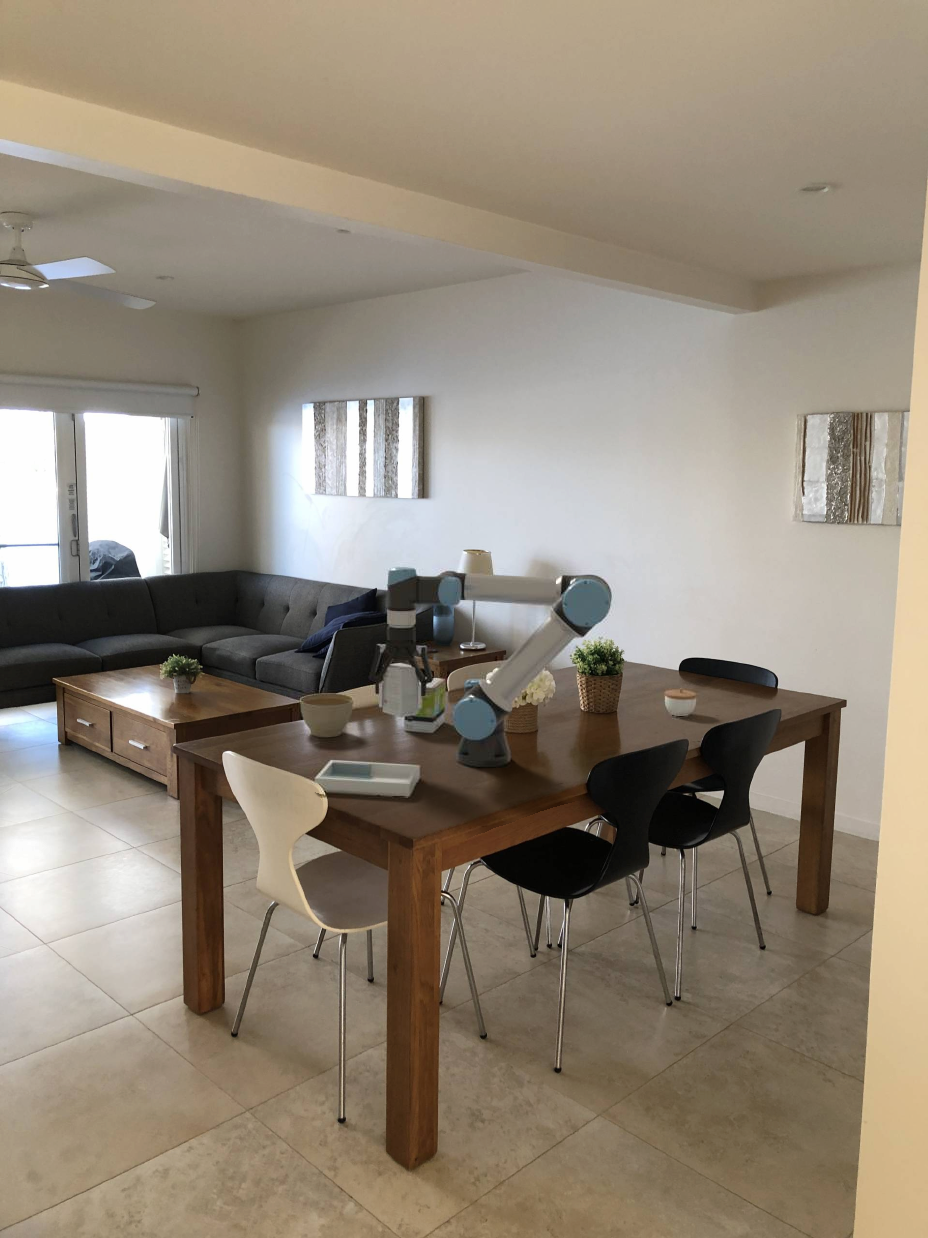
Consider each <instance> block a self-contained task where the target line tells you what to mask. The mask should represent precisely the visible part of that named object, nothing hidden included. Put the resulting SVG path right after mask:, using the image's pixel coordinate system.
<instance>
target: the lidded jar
mask: <svg viewBox="0 0 928 1238" xmlns="http://www.w3.org/2000/svg"><path fill="white" fill-rule="evenodd" d="M697 697H698V693H696V692H694V691H692V690H687V689H683V687H679V689H668V690H666V691H664V704H665V708H666V710H667V711H668V713H669V715H670V716H672V715H674V716H673V717H676V716H687V715H689V716H690V715H691V714H692V713H693V711H694V710H695V708H696V706H697V705H696V704H697Z"/></svg>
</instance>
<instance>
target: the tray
mask: <svg viewBox="0 0 928 1238" xmlns="http://www.w3.org/2000/svg"><path fill="white" fill-rule="evenodd" d="M420 768H421V766H420V765H419V764H405V763H404V764H403V763H390V762H389V763H387V762H371V761H370V762H369V761H357V760H356V761H354V760H352V761H351V760H340V759H339V760H338V759H337V760H335V759H330V761H328V762H327V763H326V765H325V766H324V767H323V768H322V770H321V771H320V772H319V773H318V774H317V775H316V776H315V777H314V783H315V782H316V783H318V784H320V785H321V786H322V787H323V788H324V789H325V791H326V792H325V793H329V794H330V793H333V794H346V795H362V796H363V795H364V796H377V795H380V796H379V797H381V796H382V797H393V796H406V797H405V798H408V797H409V796H410V797H411V796H412V795H411V794H412V793H413V791H414V789H415V788H414V787H416V786H417V784H418V782H419V780H420V773H421V771H420ZM416 783H417V784H416ZM415 785H416V786H415ZM410 797H409V798H410Z"/></svg>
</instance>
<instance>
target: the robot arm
mask: <svg viewBox="0 0 928 1238" xmlns="http://www.w3.org/2000/svg"><path fill="white" fill-rule="evenodd" d="M387 575H388V577H387V584H386V586H387V588H386V589H387V610H386V611H387V612H386V615H387V616H386V621H387V625H388V626H387V628H386V630H387V631H386V636H387V637H386V644H381V643H378V644H376V645H375V647H374V650H375V651H374V652H375V654H374V658H373V661H372V664H371V668H370V671H369V674H368V680H369V681H372V682H374V685H375V686H374V688H375V689H374V693H375V695H378V708H383V675H384V673H385V671H386V670H387V668H388V666H389V665H390V664H392V662H393V661H394V660H395V661H400V660H401V661H407V662H408V663H409V665H411V666H412V667H414V668H415V673H416V675H417V677H418V679H419V681H420V682H421V683H419V685H418V709H421V708H422V696H425V695H426V684H427V683H431V682H432V681H433V678H434V675H433V672H432V669H431V665H430V662H429V658H428V653H427V652H428V646H427V645H417V643H416V642H417V641H416V627H415V624H416V623H417V621H416V620H417V619H416V612H417V611H416V605H432V606H444V607H448V606H457V605H460V602H461V601H471V602H472V601H473V602H475V601H476V602H486V603H488V602H489V603H500V604H501V603H502V604H515V605H517V604H518V605H519V604H520V605H529V606H530V605H531V606H533V605H534V606H546V607H550V615H549V616H548V617H547V618H546V619H545V620H543V622H542V623H541V624H540V625H539V626H538V627H537V628H536V629H535V630H534V632H532V633H531V635H530V636H528V638H527V639H525V641H524V642H523V643H522V644H521V645H520V646H519V647H518V648H517V649H516V650H515V651H514V652H513V653H512V654H511V656H509V657H508V658H507V659H506V661H504V662H503V663H502V664H501V666H500V667H499V668H498V669H497V670H496V671H495V672H494V673H493V674H492V675H491V676H490V677H488V678H469V679H467V680H465V682H464V687H463V690H464V696H463V697H462V698H461V699H460V700H458V701H457V702H456V704H455V706H454V708H453V713H452V722H453V726H454V728H455V729H456V732H458V734H460V735H461V739H460V742H459V744H458V747H457V751H456V760H457V762H458V763H460V764H463V765H466V766H469V767H475V768H476V767H479V768H495V767H502V766H505V765H508V764H509V763H510V762H511V750H510V748H509V744H508V739H507V737H506V716H507V715H509V713H510V712H512V711H513V702H514V700H516V698H517V697H518V696H519V695H520V694H521V693H522V692H523V691H524V690H525V689H526V688H527V687H528V686H530V684H531V683H532V682H533V681H534V680H535V679H536V678H537V677H538V676H539V675H540V674H541V673H542V672H543V671H544V670H545V668H547V667H548V665H549V664H550V663H551V662H553V661H554V659H555V658H556V657H557V656H559V654H561V652H562V651H563V650H564V649H565V648H566V647H567V646H568V645H569V644H570V643H572V641H573V640H574V639H578V638H579V639H580V638H582V639H583V638H584V637H586V635H587V634H588V633H589V632H590V631H591V630H592V629H593V628H594V627H595V626H596V625H598V624H599V623H601V622H603V620H604V619H605V618H606V617H607V616H608V613H609V612H610V609H611V606H612V605H611V604H612V595H613V594H612V590H611V587H610V586H609V583H608V581H606V580H605V579H603V578H602V577H601V576H598V575H595V574H579V575H578V574H576V575H569V574H568V575H567V574H566V575H565V574H562V575H560V576H559V577H558V578H557V577H556V578H553V577H552V578H551V577H537V576H519V575H518V576H517V575H504V574H503V575H502V574H486V573H485V574H484V573H470V572H468V573H465V572H457V571H455V570H447V571H446V570H445V571H443V572H441V573H440V574H438V575H436V576H434V575H433V576H432V575H429V576H424V575H423V576H422V575H418V574H417V569H415V568H414V567H406V566H403V567H402V566H401V567H400V566H397V567H392V568H390V569H389V570H388V573H387ZM385 650H386V651H387V654H389V656H388V657H387V659H386V661H385V663H384V664H383V665H384V666H383V665H382V668H381V669H380V671H379V673H378V674H377V675H376V673H377V670H378V667H379V664H380V660H381V657H382V654H383V652H385ZM416 651H417V652H418V654H419V655H420V658H421V662H422V665H423V669H424V673H425V674H424V673H423V671H422V669H421V667H420V665H419V664H418V662H417V660H416V657H415V656H414V654H415V652H416ZM418 667H419V668H418ZM425 677H427V678H425Z"/></svg>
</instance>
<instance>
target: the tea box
mask: <svg viewBox="0 0 928 1238" xmlns="http://www.w3.org/2000/svg"><path fill="white" fill-rule="evenodd" d="M425 678H427V677H426V676H425ZM446 682H447V679H446V678H439V677H433V681H432V682H431V683H427V684H426V695H425V696H422V708H421V709H419V714H415V715H411V716H406V717H403V719H404V720H403V731H406V732H412V733H413V732H416V733H428V734H433V733H434V732H435V731H436V730H437V729H438V728H440V726H441V725H443V724H444V722H445V713H446V712H445V710H446V707H445V706H446V687H447V685H446ZM419 683H421V682H420V681H419Z"/></svg>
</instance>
